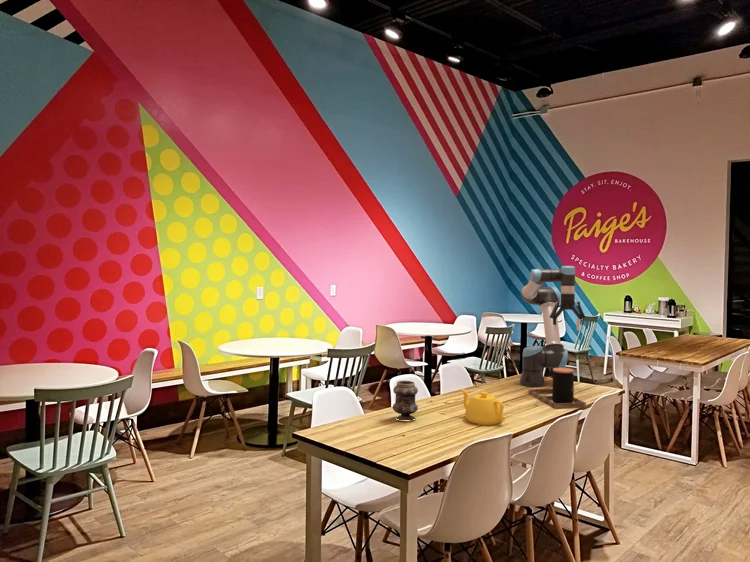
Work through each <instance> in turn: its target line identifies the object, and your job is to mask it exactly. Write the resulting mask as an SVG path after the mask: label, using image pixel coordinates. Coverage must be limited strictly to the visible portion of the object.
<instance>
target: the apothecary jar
mask: <svg viewBox="0 0 750 562" xmlns="http://www.w3.org/2000/svg"><path fill="white" fill-rule="evenodd" d="M392 391H393V393H394V394H395V402H394V403H393V405H392V410H393V411H394V412H395V413H397V414H399V415H398V417H397V416H396V417H395V418H397V419H399V420H413V419H415V420H416V417H415V416H412V414H415V413H416V412H417V411H418V409H419V407H418V404H417V403H416V395H417V394H418V392H419V390H418V387H417V386H416V384H415V382H414V381H413V380H398V381H396V385H395V386H394V387H393V390H392Z"/></svg>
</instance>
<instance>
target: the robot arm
mask: <svg viewBox="0 0 750 562" xmlns="http://www.w3.org/2000/svg"><path fill="white" fill-rule="evenodd" d="M529 278H530V280H529V281H528V282H527V284H526V285H524V286H523V288H522V289H521V292H520V295H521V298H522V300H523V301H524V302H526V303H527V304H530V305H535V306H537V305H538V307H539V309H540V310H541V311H542V320H543V327H544V328H543V329H544V336H545V337H544V338H545V345H544V346H541V345H531V346H526V347H524V348H523V350H522V372H521V376H520V378H519V385H520V386H524V387H530V388H531V387H532V388H539V387H541V388H542V387H544V386H545V385H546V380H545V377H544V374H543V369H544V368H545V369H553V368H566V366H567V363H568V360H569V359H568V358H569V351H568V349H567V348H565V347H564V344H562V343H561V337H560V336H561V335H560V329H559V328H560V327H559V317H560V315H561V314H562V312H564V311H566V310H567V311H568V310H570V311H572V312H573V314H574V315H575V316H576V317H577V318H576V331H581V325H583V319H585V318H586V315H585V312H584V311H583V309H582V306H581V301H575V300H576V299H575V298H576V297H575V296H576V295H575V291H576V286H575V285H576V267H575V266H573V265H562V266H561V267H560V268H558V269H557V268H553V269H551V268H550V269H549V268H535V269H534V268H532V269H531V270H530V275H529ZM544 283H560V290H559V289H558V288H557V287H555V286H543V285H544ZM575 306H576V308H575Z"/></svg>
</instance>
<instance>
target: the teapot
mask: <svg viewBox="0 0 750 562" xmlns="http://www.w3.org/2000/svg"><path fill="white" fill-rule="evenodd" d="M460 390H461V392H462V394H463V406H464V409H465V412H464V415H465V418H466V419H467V421H468V422H469V423H471V422H473V423H472V424H474V423H476V424H475V425H479V424H482V425H481V426H493V424H495V425H497V423H498V424H499V423H501V422H504V421H505V420H506V418H505V416H504V413H503V412H504V406H505V405H504V403H503V402H502V401H501V400H498V398H496V396H494V395H490V394H489V392H487V391H481V392H480V394H475V395H473V396H472V397H471V399H470V398H469V394H468V391H467V390H466V389H464V388H460Z"/></svg>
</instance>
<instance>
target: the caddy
mask: <svg viewBox="0 0 750 562" xmlns="http://www.w3.org/2000/svg"><path fill="white" fill-rule="evenodd" d="M548 394H552V388H538V389H537V388H536V389H534V388H532V389H528V395H530V396H532V397H533V398H535V399H537V400H539V401H541V402H543V403H544V404H546V405H548V406H549V407H551V408H552V409H555V410H558V409H559V410H560V409H580V408H581V409H585V408H587V402H585V401H583V400H582V399H579V398H577V397H575V396H573V403H554V402H553V400H552V395H548Z"/></svg>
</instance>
